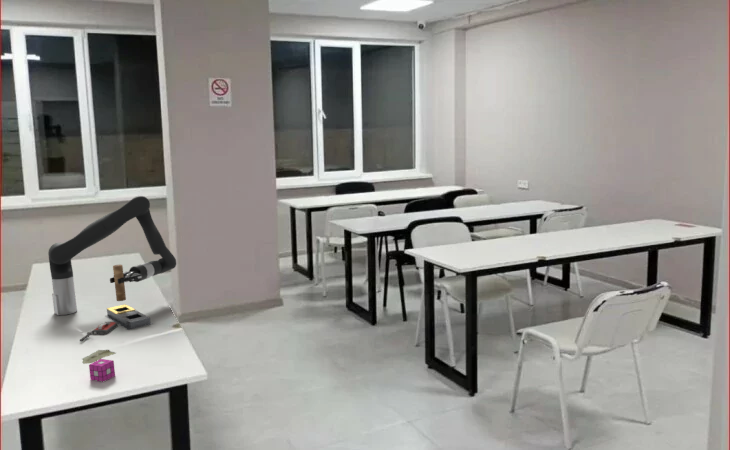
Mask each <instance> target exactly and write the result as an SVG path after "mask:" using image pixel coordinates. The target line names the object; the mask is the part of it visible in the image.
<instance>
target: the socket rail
mask: <svg viewBox="0 0 730 450" xmlns="http://www.w3.org/2000/svg"><path fill="white" fill-rule="evenodd" d="M106 312H107V314H106V315H105V317H106V318H107V319H109V320H111V322H117V323H118V326H121V327H123V328H124V329H125V330H128V331H129V330H134V329H138V328H142V327H146V326H151V325H154V324H153V322H151V318H150V317H149V316H147V315H146V314H144V313H141V312H139V311H138V310H136V309H135V308H133V307H132V306H129V305H127V304H121V305H116V306H112V307H111V306H110V307H107V308H106Z"/></svg>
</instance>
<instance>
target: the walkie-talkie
mask: <svg viewBox="0 0 730 450" xmlns="http://www.w3.org/2000/svg"><path fill="white" fill-rule="evenodd" d="M118 326H119V324H118V323H117V322H114V321H104V322H102V323H101V324H99V325H98V326H97V327H94V328H92V329H89V330H88V331H87V332H86V335H84V336H83V337H81V338H80V339H79V342H83V341H84V340H86V339H88V338H89V337H90V336H91V335H99V336H104V335H108V334H109V333H111V332H112V331H113V330H115V329H116V328H117V327H118Z"/></svg>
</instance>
